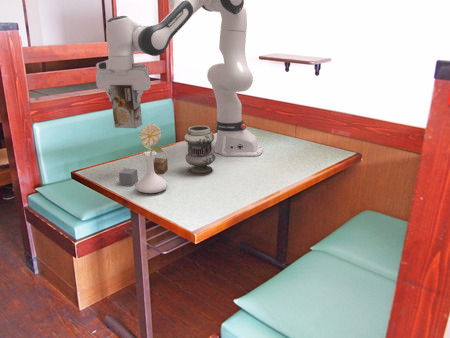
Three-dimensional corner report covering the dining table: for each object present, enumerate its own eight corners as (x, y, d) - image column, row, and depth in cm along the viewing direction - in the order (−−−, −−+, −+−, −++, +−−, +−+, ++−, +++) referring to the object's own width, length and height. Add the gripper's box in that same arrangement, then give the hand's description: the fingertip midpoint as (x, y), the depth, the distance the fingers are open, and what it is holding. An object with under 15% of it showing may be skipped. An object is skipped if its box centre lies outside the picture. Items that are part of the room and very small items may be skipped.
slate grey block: (137, 181, 158) (136, 169, 157) (132, 186, 154) (131, 173, 152) (125, 180, 159) (124, 168, 158) (120, 185, 155) (118, 172, 153)
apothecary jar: (193, 164, 176) (191, 122, 170) (219, 167, 172) (219, 125, 166) (180, 174, 165) (178, 130, 159) (208, 177, 161) (207, 132, 155)
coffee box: (143, 124, 161) (139, 82, 156) (136, 128, 155) (132, 85, 150) (121, 123, 163) (117, 82, 158) (113, 127, 157) (108, 85, 152)
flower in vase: (129, 189, 151) (123, 122, 142) (155, 181, 158) (151, 116, 149) (150, 200, 142) (145, 129, 133) (177, 191, 149) (173, 122, 141)
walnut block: (167, 170, 170) (167, 158, 168) (163, 174, 165) (162, 162, 164) (156, 169, 171) (155, 157, 169) (151, 173, 166) (150, 161, 164)
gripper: (151, 63, 151) (154, 101, 156) (100, 62, 156) (104, 99, 160) (145, 65, 146) (148, 104, 150) (91, 64, 150) (96, 102, 155)
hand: (125, 101), depth 155 cm, fingers closed on coffee box, 8 cm apart
